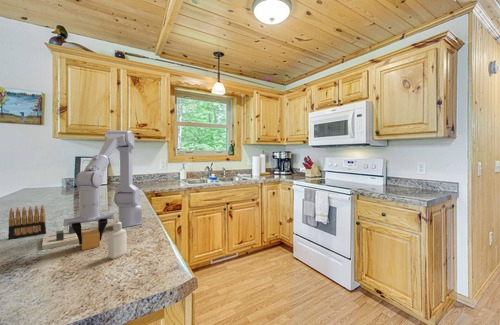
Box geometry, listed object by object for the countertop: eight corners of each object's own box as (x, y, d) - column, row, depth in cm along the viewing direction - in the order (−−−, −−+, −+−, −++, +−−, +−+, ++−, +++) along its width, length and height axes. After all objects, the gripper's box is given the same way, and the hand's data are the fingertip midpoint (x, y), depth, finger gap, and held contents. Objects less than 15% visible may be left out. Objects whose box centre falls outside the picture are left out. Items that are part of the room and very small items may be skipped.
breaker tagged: (63, 237, 85) (63, 230, 85) (63, 239, 82) (63, 232, 82) (56, 238, 83) (56, 231, 83) (56, 241, 81) (56, 233, 81)
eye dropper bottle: (129, 254, 74) (129, 218, 74) (109, 260, 70) (109, 222, 70) (125, 250, 77) (124, 216, 77) (106, 255, 73) (105, 219, 73)
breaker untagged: (75, 230, 92) (75, 224, 92) (75, 232, 90) (75, 226, 90) (68, 231, 91) (68, 225, 91) (69, 233, 88) (69, 227, 88)
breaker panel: (79, 232, 94) (79, 229, 94) (82, 242, 84) (82, 237, 84) (44, 238, 87) (43, 234, 87) (42, 249, 77) (42, 245, 77)
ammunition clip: (8, 239, 86) (7, 208, 86) (9, 238, 87) (8, 207, 87) (45, 234, 93) (45, 205, 92) (46, 232, 94) (45, 204, 94)
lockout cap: (97, 241, 85) (97, 228, 85) (99, 246, 80) (99, 232, 80) (81, 244, 82) (80, 231, 82) (82, 250, 77) (82, 235, 77)
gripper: (63, 209, 73) (64, 250, 73) (115, 203, 82) (115, 240, 83) (63, 205, 78) (64, 244, 79) (111, 200, 88) (112, 235, 88)
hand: (90, 241), depth 81 cm, fingers closed on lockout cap, 5 cm apart
